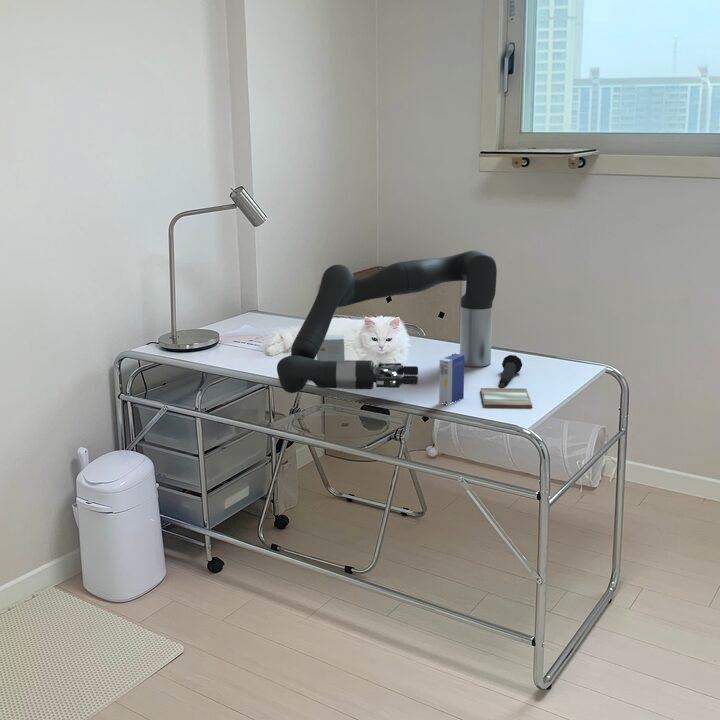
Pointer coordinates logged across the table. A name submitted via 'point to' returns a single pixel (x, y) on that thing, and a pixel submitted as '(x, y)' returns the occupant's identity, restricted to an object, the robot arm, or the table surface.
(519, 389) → the card
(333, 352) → the small box
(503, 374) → the microphone
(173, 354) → the table surface
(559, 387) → the table surface
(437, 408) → the table surface
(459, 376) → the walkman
